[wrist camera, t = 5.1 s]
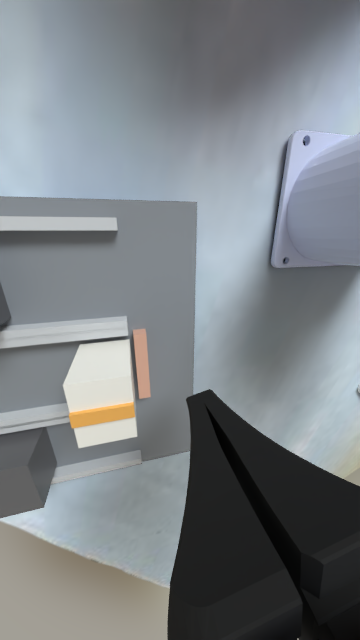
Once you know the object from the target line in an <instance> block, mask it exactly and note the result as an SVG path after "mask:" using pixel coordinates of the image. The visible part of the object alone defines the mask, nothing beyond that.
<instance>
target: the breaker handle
mask: <svg viewBox="0 0 360 640" xmlns="http://www.w3.org/2000/svg"><path fill="white" fill-rule="evenodd" d="M63 388H64V392H65V396H66V400H67V404H68V408H69V412H70V413H69V419H70V423H71V427H72V428H74V432H75V436H76V440H77V444H78V448H83V447H88V446H93V445H98V444H103V443H108V442H113V441H118V440H123V439H128V438H133V437H137V421H136V404H135V388H134V378H133V368H132V358H131V349H130V339H126V340H117V341H108V342H98V343H89V344H80V345H79V348H78V350H77V353H76V355H75V357H74V360H73V362H72V364H71V367H70V369H69V372H68V374H67V376H66V379H65V381H64V384H63Z"/></svg>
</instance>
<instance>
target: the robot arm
mask: <svg viewBox="0 0 360 640" xmlns="http://www.w3.org/2000/svg"><path fill="white" fill-rule="evenodd" d="M303 139H305V146H304V144H303ZM284 258H286V260H285V262H284V263H283V259H284ZM271 265H272V266H273V267H276V268H289V267H312V266H335V265H353V266H360V133H358V134H356V135H353V136H349V135H341V134H332V133H323V132H315V131H306V130H298V131H296V132H294V133H293V134H292V135H291V136H290V138H289V141H288V147H287V154H286V161H285V168H284V174H283V181H282V188H281V195H280V202H279V209H278V215H277V222H276V229H275V236H274V243H273V250H272V256H271ZM186 402H187V406H188V410H189V417H190V434H191V443H190V468H189V480H188V488H187V497H186V504H185V511H184V516H183V522H182V528H181V534H180V539H179V544H178V549H177V554H176V558H175V563H174V568H173V572H172V577H171V581H170V594H169V607H168V608H169V609H168V640H297V638H299V640H360V486H357V485H355V484H353V483H351V482H348V481H346V480H344V479H342V478H340V477H338V476H335V475H333V474H331V473H329V472H327V471H325V470H323V469H321V468H319V467H317V466H315V465H314V464H312V463H310V462H308V461H306V460H304V459H303V458H301V457H299V456H297V455H295V454H293V453H292V452H290V451H288V450H287V449H285V448H283V447H282V446H280V445H279V444H277V443H275V442H274V441H272V440H271V439H269V438H268V437H266V436H265V435H263V434H262V433H261V432H259V431H258V430H256V429H255V428H254V427H252V426H251V425H250V424H248V423H247V422H246V421H245V420H243V419H242V418H241V417H240V416H239V415H237V414H236V413H235V412H234V411H233V410H231V409H230V408H229V407H228V406H227V405H226V404H225V403H224V402H223V401H222V400H221V399H220V398H219V397H218V396H217V395H216V394H215V393H214V392H213V391H212V390H210V389H209V390H206V391H203V392H201V393H198V394H195V395H192V396H189V397H187V399H186Z"/></svg>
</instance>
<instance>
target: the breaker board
mask: <svg viewBox="0 0 360 640" xmlns="http://www.w3.org/2000/svg"><path fill="white" fill-rule="evenodd" d="M196 228H197V202H178V201H143V200H108V199H73V198H38V197H3V196H0V518H3V517H7V516H11V515H15V514H19V513H23V512H27V511H31V510H35V509H40V508H44V505H45V502H46V499H47V495H48V492H49V489H50V485H51V484H54V483H59V482H63V481H68V480H72V479H76V478H81V477H85V476H90V475H94V474H98V473H103V472H107V471H112V470H116V469H120V468H125V467H129V466H133V465H138V464H142V462H143V461H148V460H152V459H156V458H161V457H165V456H170V455H174V454H179V453H183V452H187V451H190V443H191V434H190V417H189V410H188V406H187V402H186V399H187V397H189V396H192V395H193V368H194V321H195V274H196ZM126 339H130V349H131V358H132V368H133V378H134V388H135V404H136V421H137V437H133V438H128V439H123V440H118V441H113V442H108V443H103V444H98V445H93V446H88V447H83V448H78V444H77V440H76V436H75V432H74V428H72V427H71V423H70V419H69V413H70V412H69V408H68V404H67V400H66V396H65V392H64V388H63V384H64V381H65V379H66V376H67V374H68V372H69V369H70V367H71V364H72V362H73V360H74V357H75V355H76V353H77V350H78V348H79V345H80V344H89V343H98V342H108V341H117V340H126Z"/></svg>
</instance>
